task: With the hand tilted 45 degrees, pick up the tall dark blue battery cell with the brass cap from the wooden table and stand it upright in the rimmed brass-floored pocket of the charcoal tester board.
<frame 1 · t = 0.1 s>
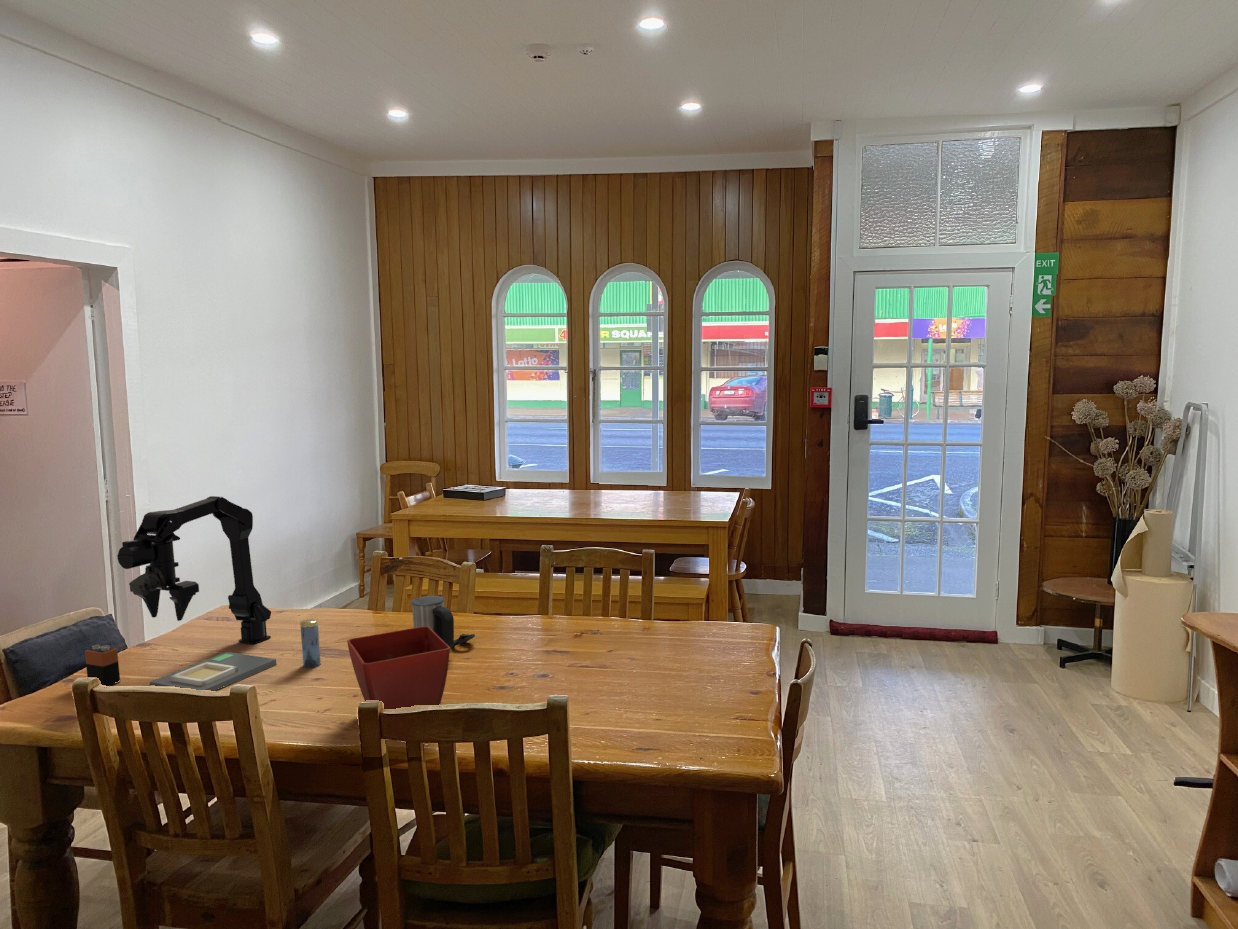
hand: (167, 618, 227), 15 cm above the table, tool pointing down, fingers open, 9 cm apart
milk frother: (444, 649, 243), on the table
cell: (312, 665, 233), on the table
tester board: (215, 675, 226), on the table
battery: (104, 684, 223), on the table
plant pot: (401, 715, 198), on the table
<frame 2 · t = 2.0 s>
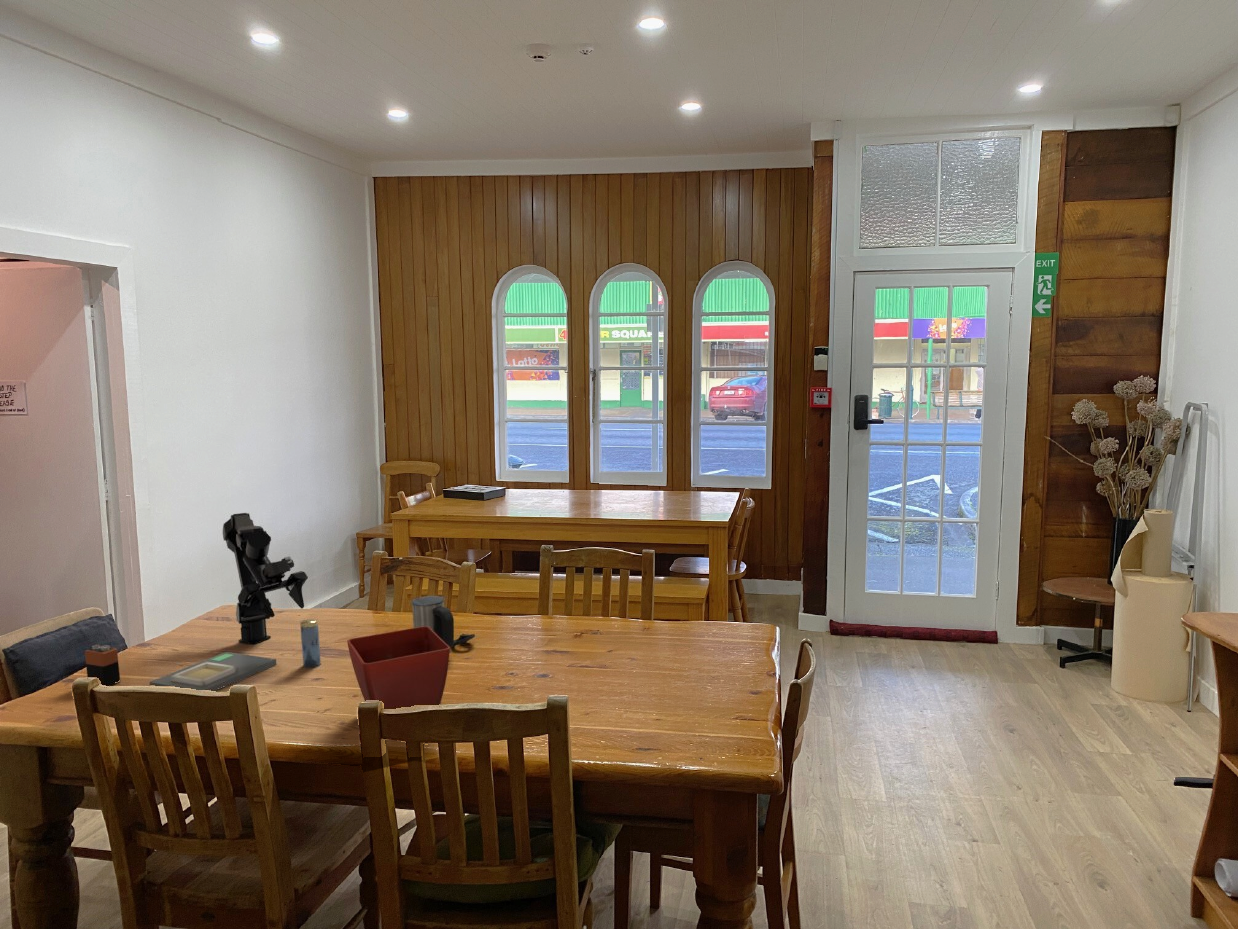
hand: (288, 612, 235), 13 cm above the table, tool tilted 45°, fingers open, 9 cm apart
nothing on the table moved.
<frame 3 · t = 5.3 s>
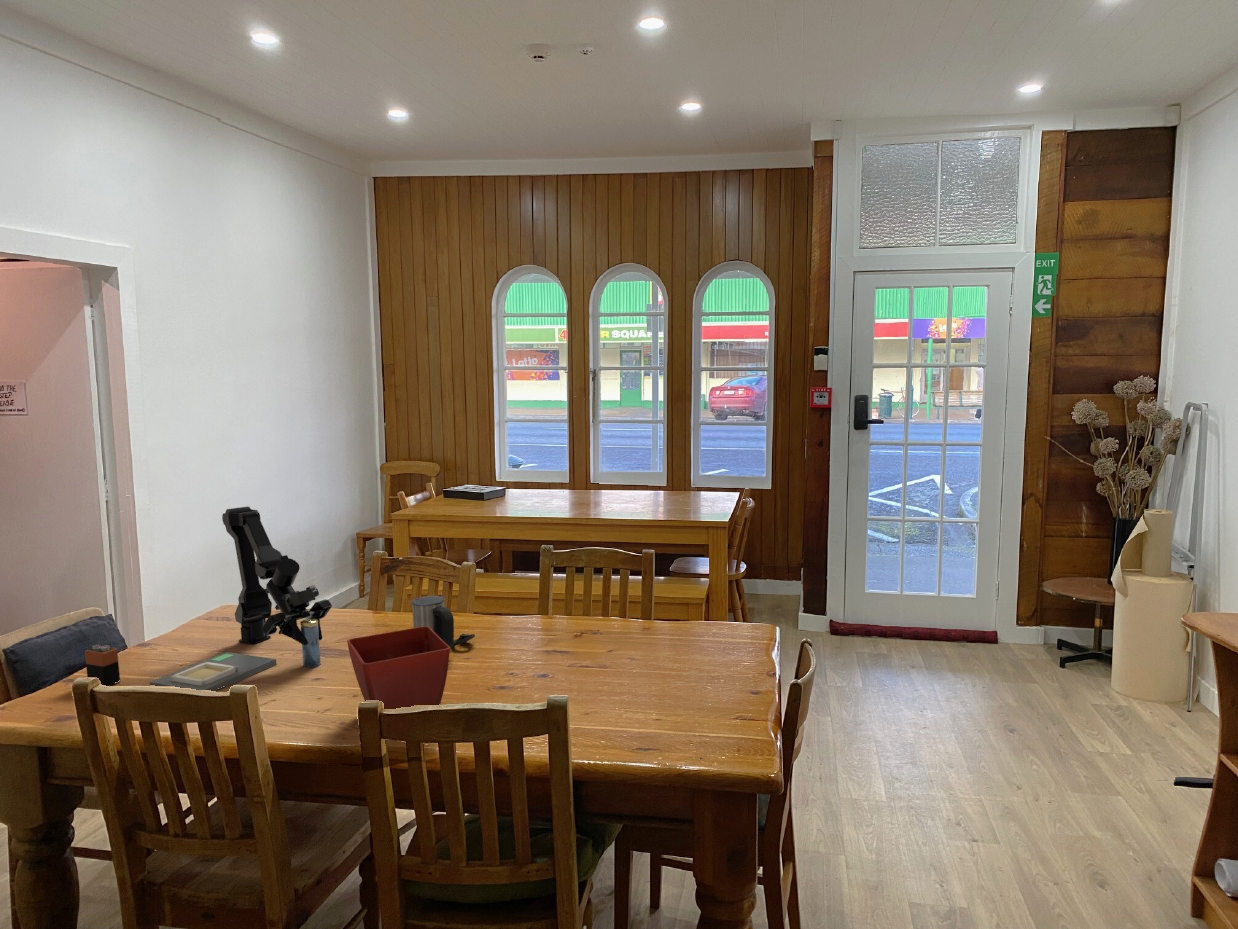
hand: (313, 642, 231), 7 cm above the table, tool tilted 45°, fingers closed on cell, 4 cm apart
cell: (312, 665, 233), on the table, touching gripper
everything else where it was.
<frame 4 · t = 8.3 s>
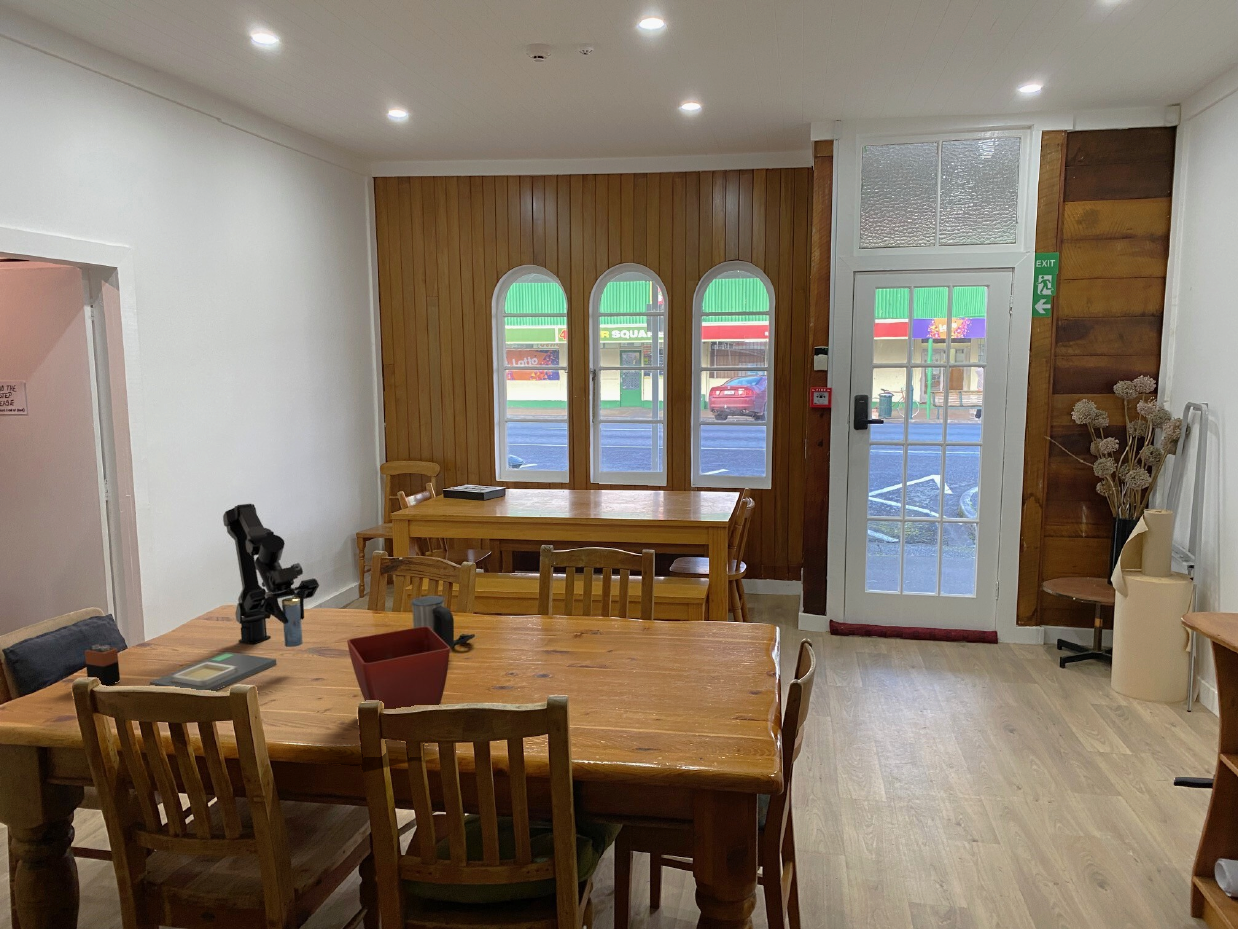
hand: (294, 620, 227), 13 cm above the table, tool tilted 45°, fingers closed on cell, 4 cm apart
cell: (293, 644, 229), point 7 cm above the table, touching gripper
everything else where it was.
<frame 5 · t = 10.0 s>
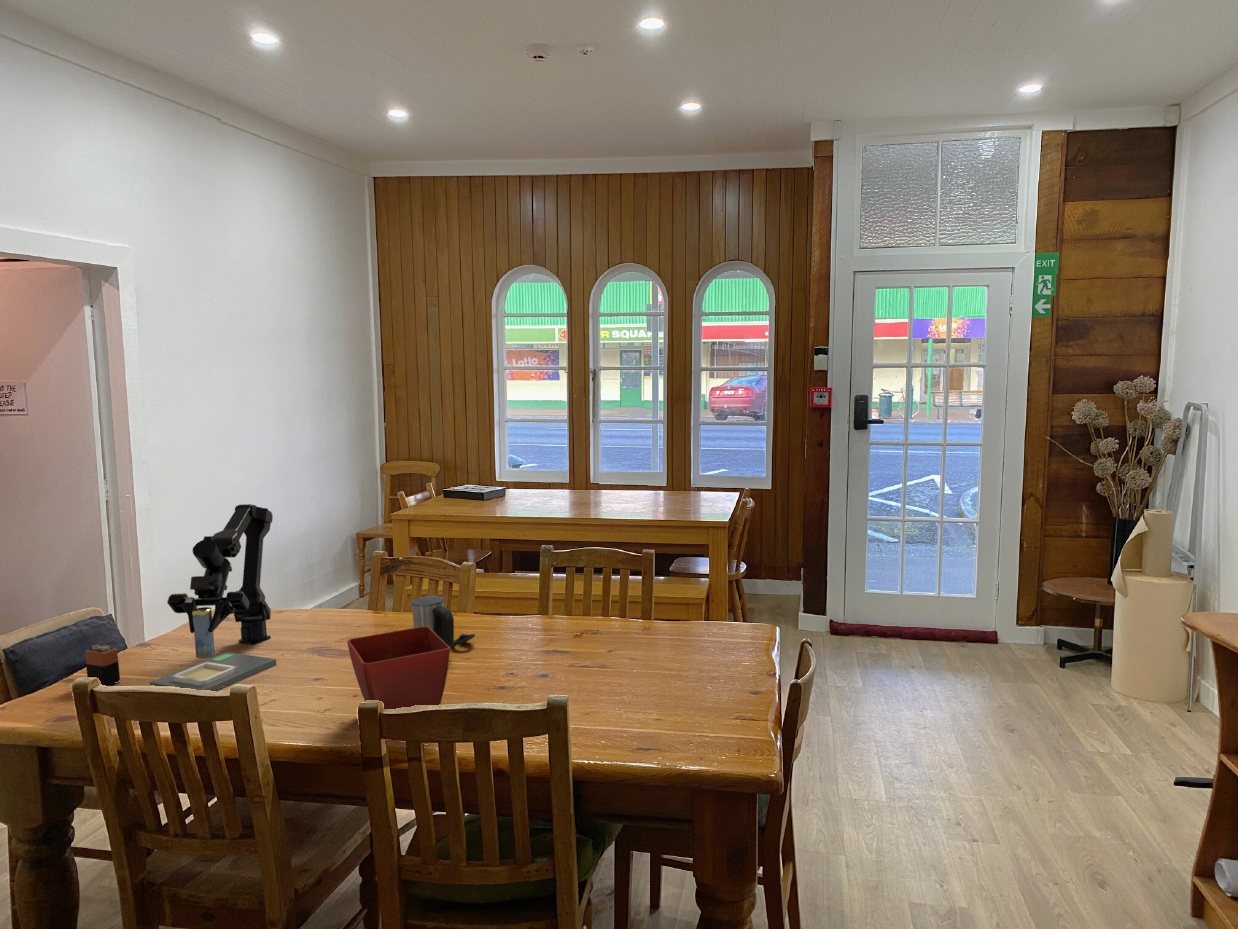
hand: (201, 632, 219), 13 cm above the table, tool tilted 45°, fingers closed on cell, 4 cm apart
cell: (205, 655, 221), point 7 cm above the table, touching gripper
everything else where it was.
when the fingers open (9 cm above the table, at t = 11.5 s): cell stays where it is, resting on tester board.
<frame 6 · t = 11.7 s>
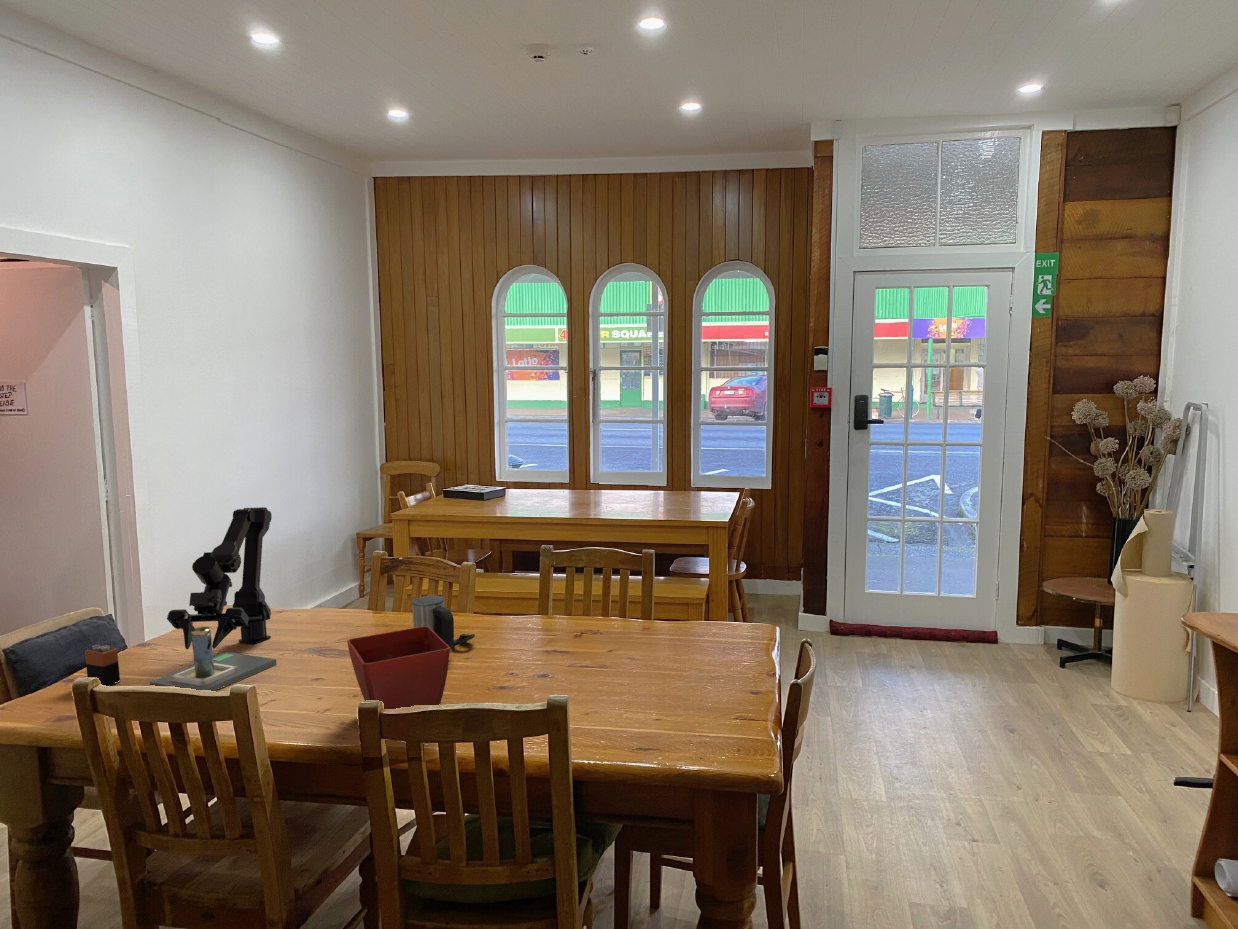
hand: (200, 648, 220), 9 cm above the table, tool tilted 45°, fingers open, 6 cm apart
cell: (205, 675, 222), point 2 cm above the table, touching tester board
everything else where it was.
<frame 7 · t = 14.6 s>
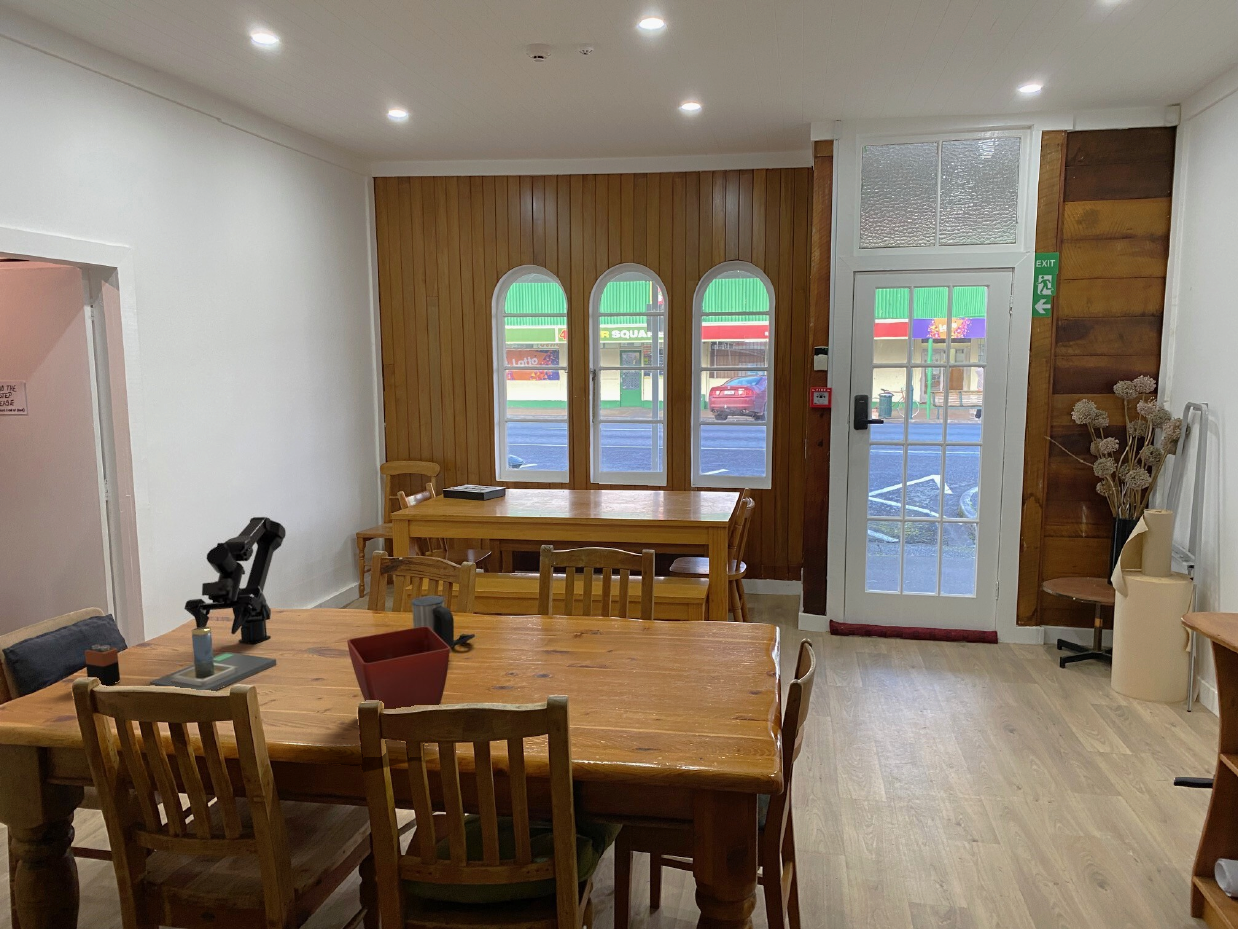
hand: (216, 635, 230), 9 cm above the table, tool tilted 40°, fingers open, 9 cm apart
nothing on the table moved.
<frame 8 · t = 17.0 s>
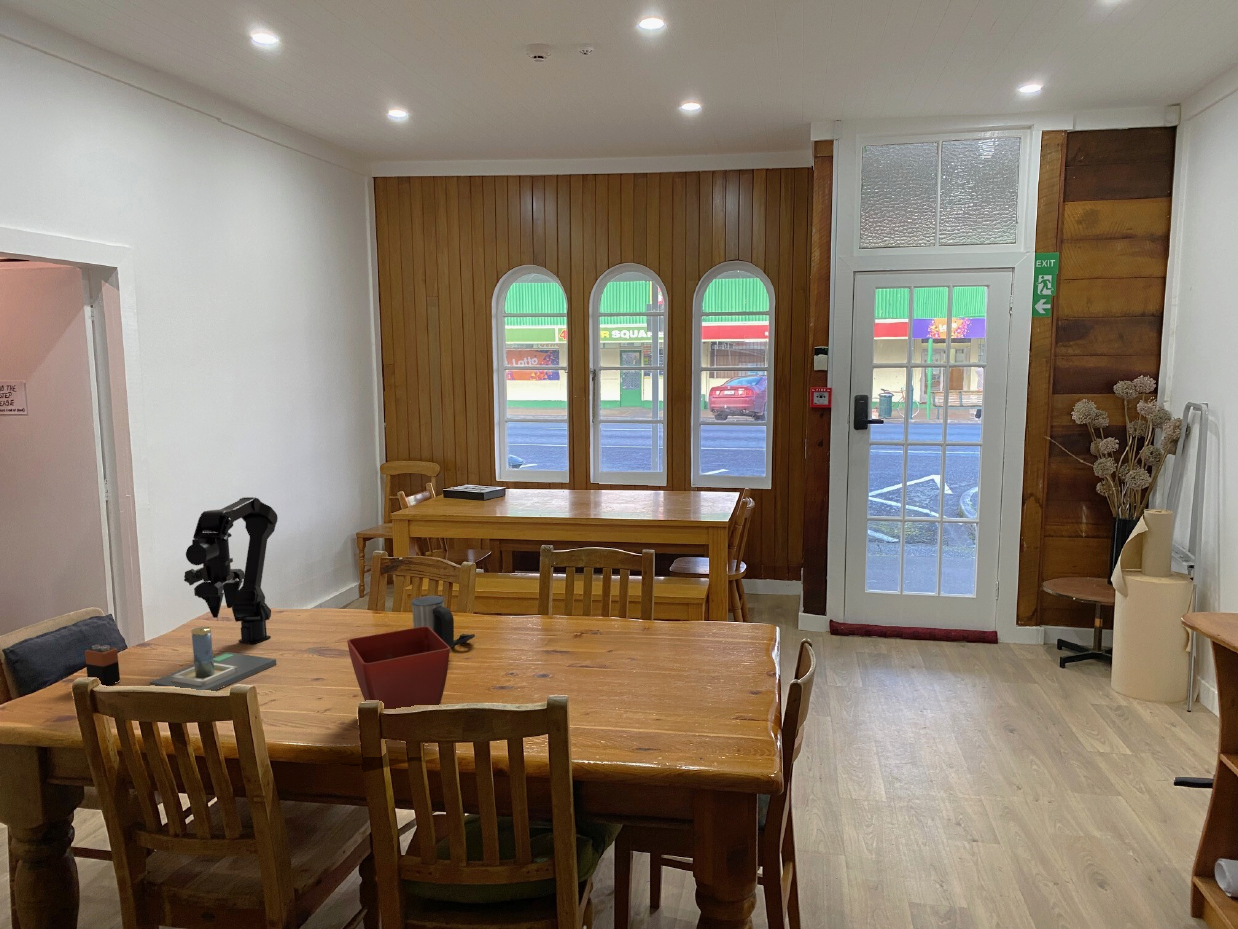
hand: (222, 612, 238), 13 cm above the table, tool pointing down, fingers open, 9 cm apart
nothing on the table moved.
at the end: cell 0.0 cm from the target spot on the tester board, point 1.7 cm above the tester board's base; cell tilted 1°; the gripper is holding nothing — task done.
